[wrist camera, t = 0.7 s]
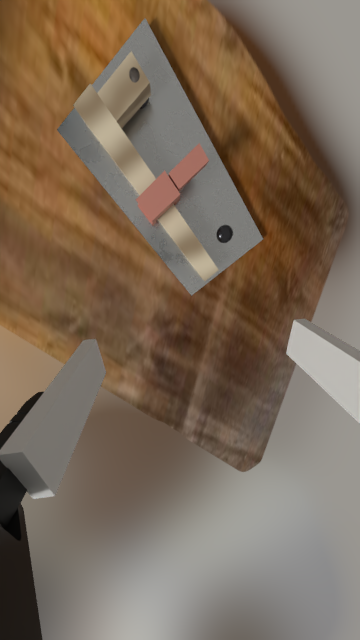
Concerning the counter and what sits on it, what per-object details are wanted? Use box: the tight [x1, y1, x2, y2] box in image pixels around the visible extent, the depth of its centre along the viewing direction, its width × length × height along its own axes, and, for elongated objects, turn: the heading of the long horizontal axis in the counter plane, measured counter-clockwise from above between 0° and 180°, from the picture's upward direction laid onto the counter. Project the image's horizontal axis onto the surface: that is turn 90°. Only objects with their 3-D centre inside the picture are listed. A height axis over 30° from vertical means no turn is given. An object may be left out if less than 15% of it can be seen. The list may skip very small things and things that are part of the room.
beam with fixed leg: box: [73, 51, 219, 281], centre depth 27 cm, size 27×8×3 cm, turn 39°
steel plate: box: [57, 19, 263, 296], centre depth 28 cm, size 30×16×1 cm, turn 39°
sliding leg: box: [136, 143, 209, 225], centre depth 25 cm, size 3×10×6 cm, turn 129°
